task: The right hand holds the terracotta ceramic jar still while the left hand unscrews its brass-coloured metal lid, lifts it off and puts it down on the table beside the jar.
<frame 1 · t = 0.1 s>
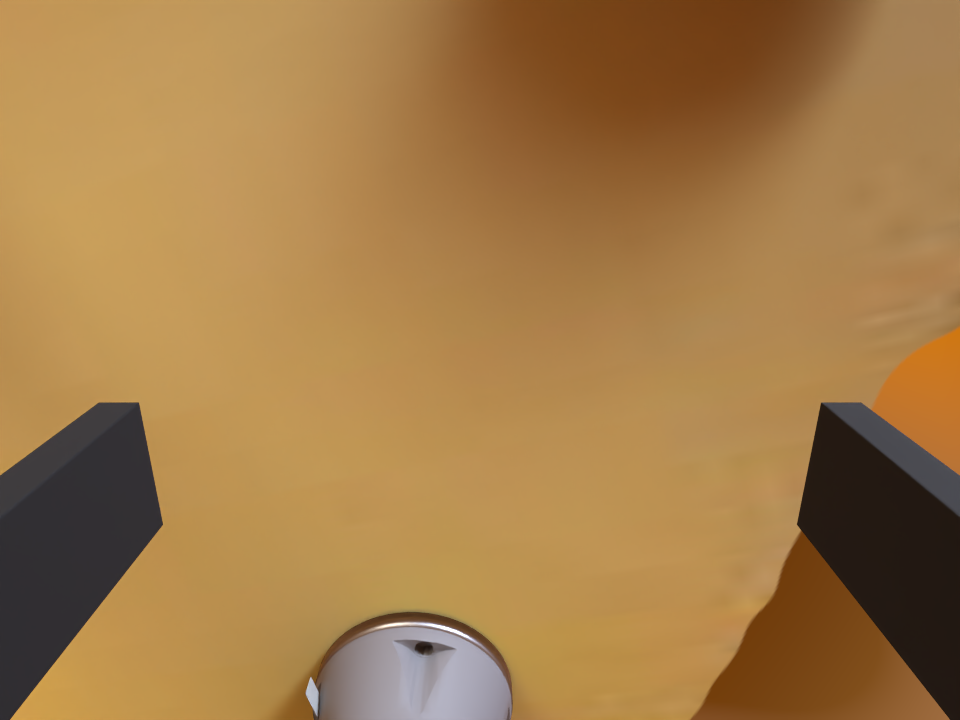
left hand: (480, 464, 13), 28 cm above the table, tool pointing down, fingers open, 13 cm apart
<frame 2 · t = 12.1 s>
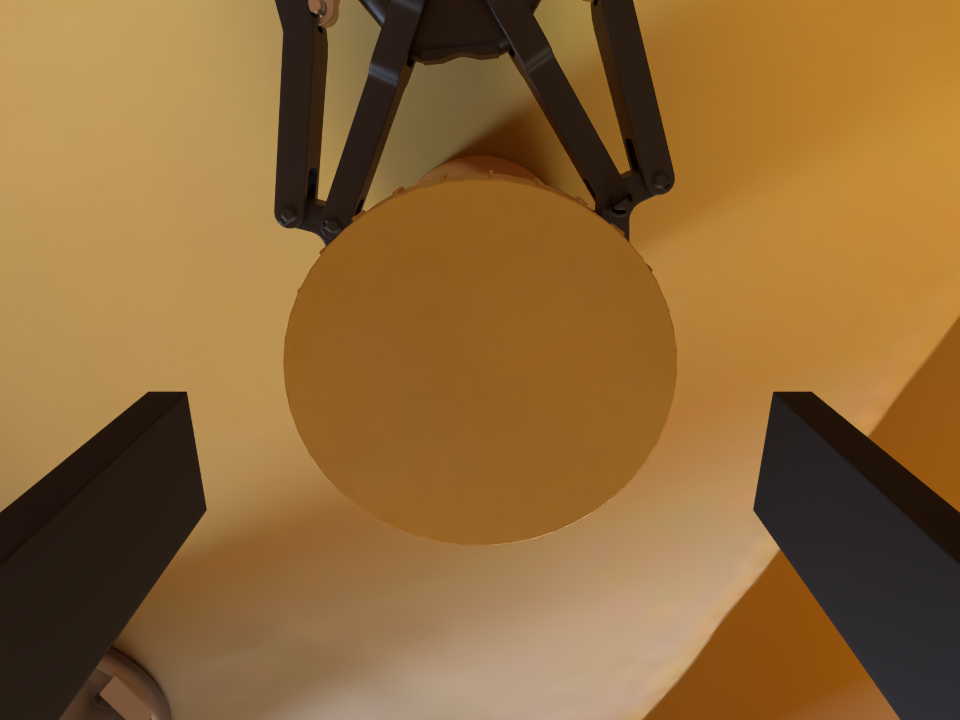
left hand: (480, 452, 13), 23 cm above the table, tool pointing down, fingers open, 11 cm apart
lid: (480, 376, 17), point 19 cm above the table, screwed on, not yet turned
jar: (480, 246, 35), on the table, touching right hand
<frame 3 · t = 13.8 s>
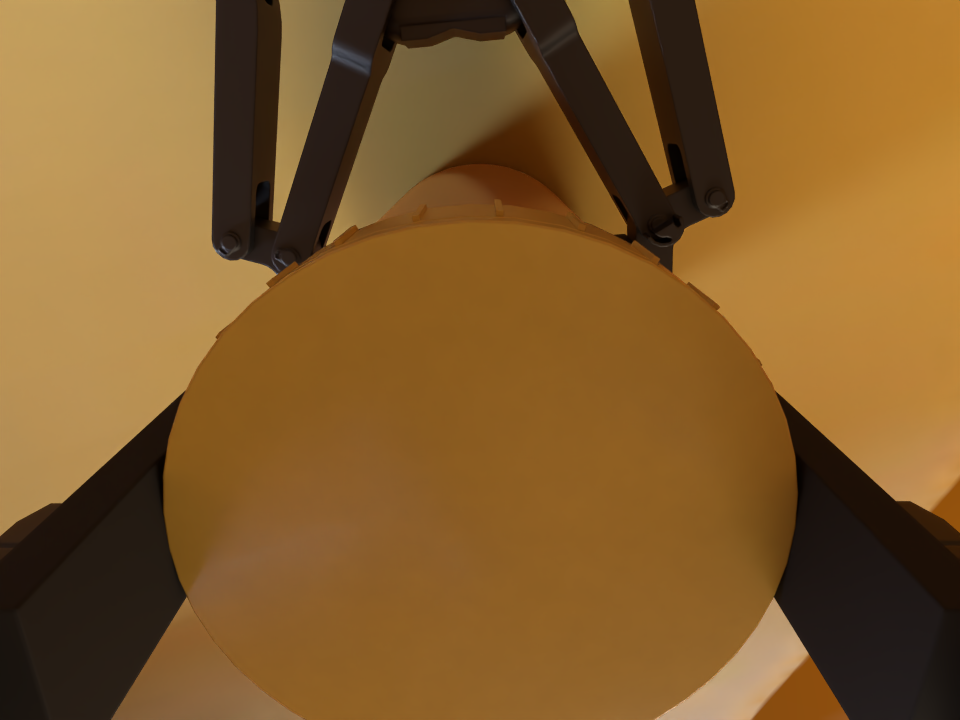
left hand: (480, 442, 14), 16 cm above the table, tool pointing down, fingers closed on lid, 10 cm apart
lid: (480, 525, 11), point 19 cm above the table, screwed on, not yet turned, touching left hand
jar: (479, 273, 29), on the table, touching right hand
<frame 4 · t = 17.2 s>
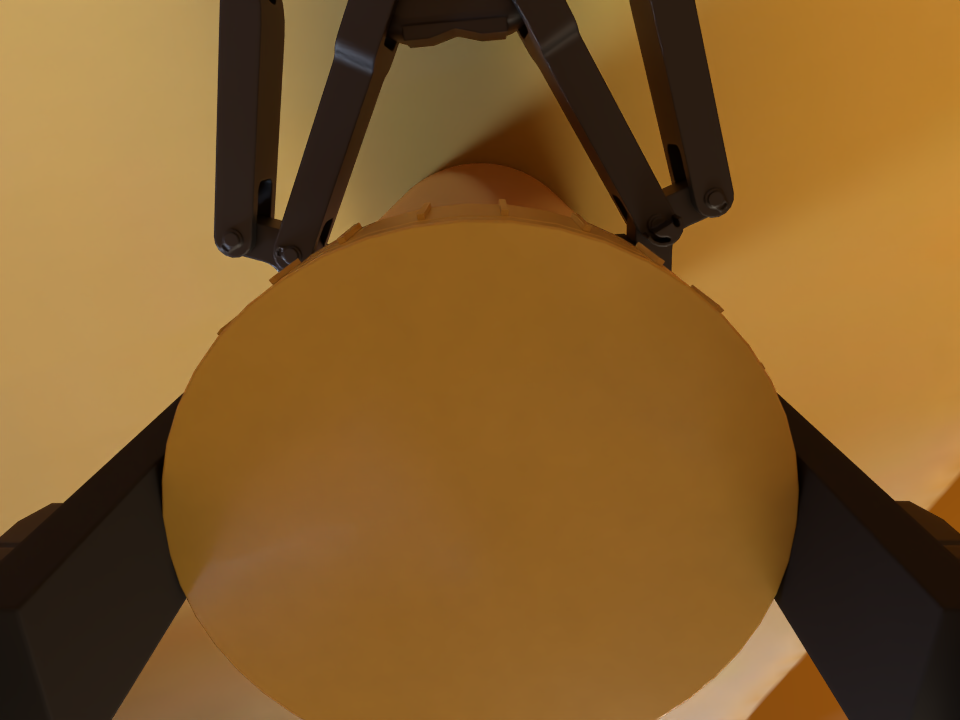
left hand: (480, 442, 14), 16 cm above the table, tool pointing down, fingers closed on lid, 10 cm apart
lid: (480, 526, 11), point 19 cm above the table, turned 106° so far, risen 0.2 cm, still on its thread, touching left hand
jar: (480, 272, 29), on the table, touching right hand
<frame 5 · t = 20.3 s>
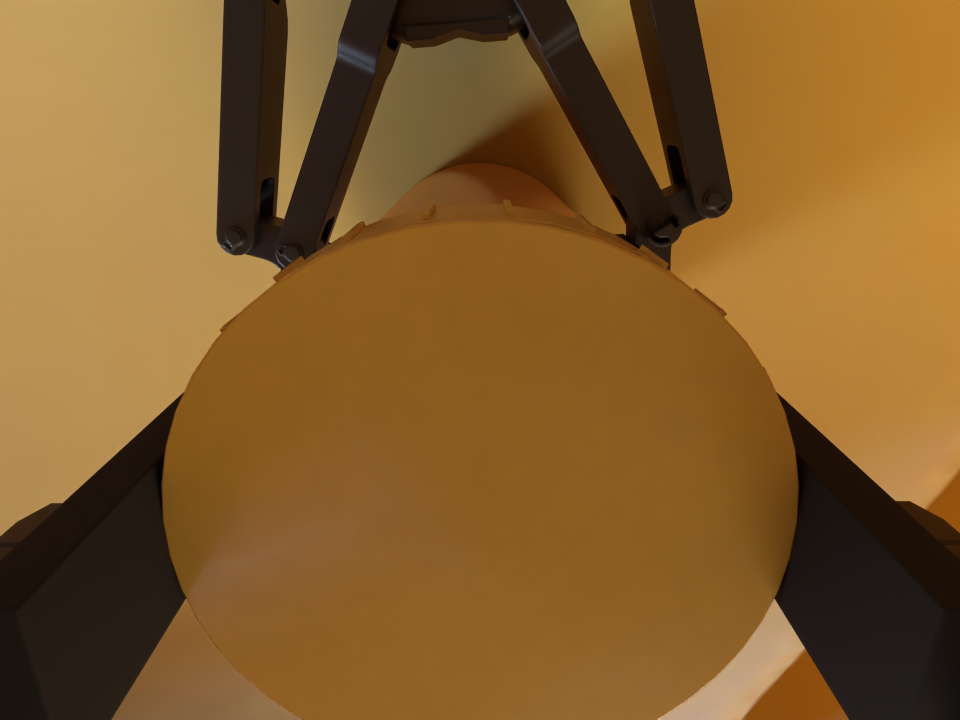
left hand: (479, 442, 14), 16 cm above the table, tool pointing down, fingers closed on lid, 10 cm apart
lid: (480, 526, 11), point 19 cm above the table, turned 212° so far, risen 0.4 cm, still on its thread, touching left hand
jar: (480, 271, 29), on the table, touching right hand
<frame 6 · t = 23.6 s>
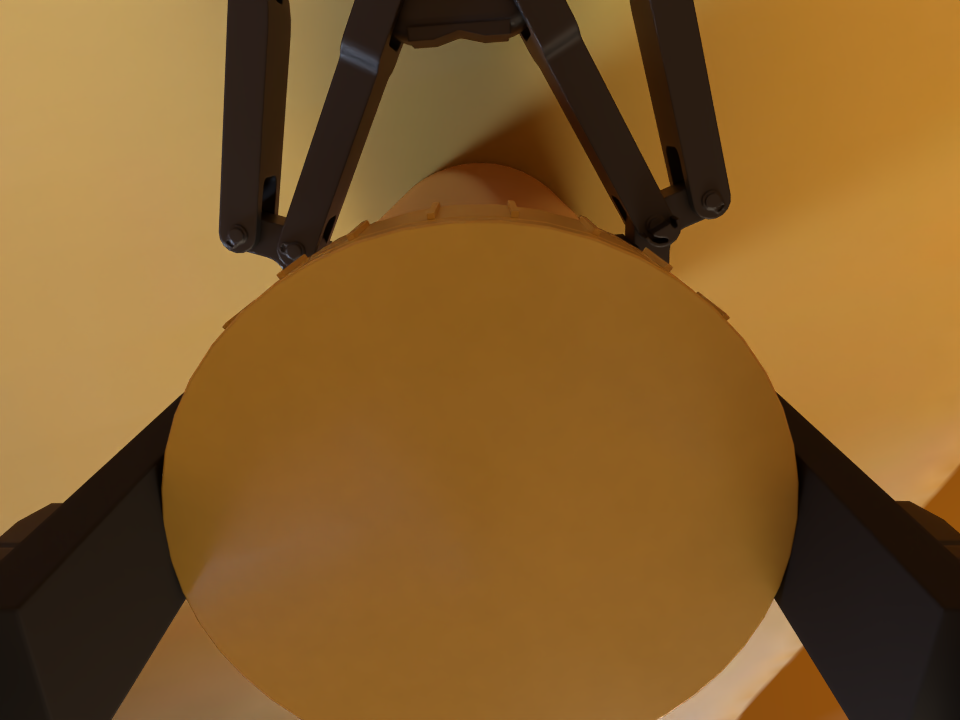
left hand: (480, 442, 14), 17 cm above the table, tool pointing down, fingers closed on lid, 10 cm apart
lid: (479, 526, 11), point 20 cm above the table, turned 319° so far, risen 0.5 cm, still on its thread, touching left hand
jar: (480, 271, 29), on the table, touching right hand
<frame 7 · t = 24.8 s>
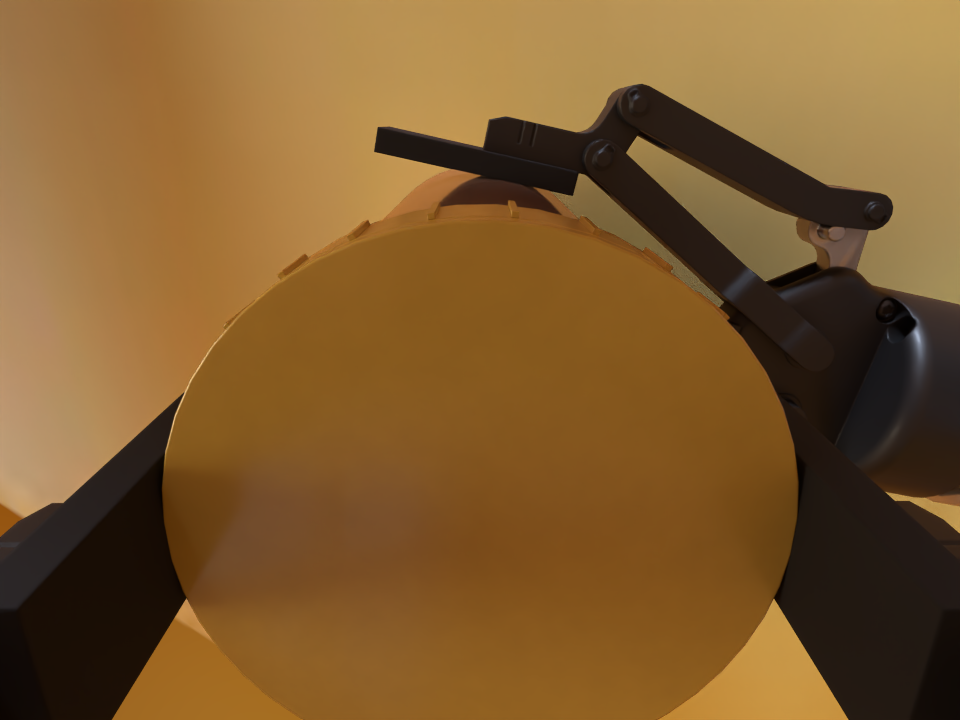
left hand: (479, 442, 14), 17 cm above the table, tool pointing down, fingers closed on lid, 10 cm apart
right hand: (360, 282, 23), fingers closed on jar, 9 cm apart
lid: (480, 526, 11), point 20 cm above the table, off its thread, touching left hand
jar: (480, 271, 29), on the table, touching right hand
when the left hand's fingers open (0 cm above the table, at t = 30.5 s): lid drops 2 cm, point 2 cm above the table.
when the right hand's fingers open (6 cm above the table, at t = 31.5 s): jar stays where it is, on the table.
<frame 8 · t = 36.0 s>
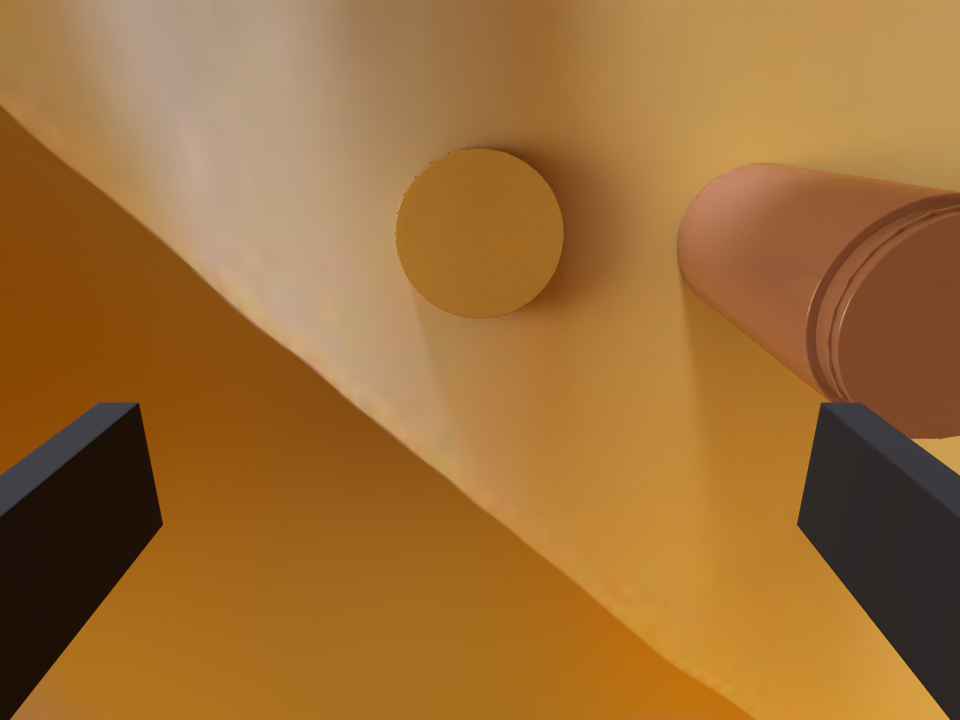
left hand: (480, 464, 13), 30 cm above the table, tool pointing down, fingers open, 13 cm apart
lid: (479, 236, 39), point 2 cm above the table, off its thread
jar: (751, 240, 41), on the table
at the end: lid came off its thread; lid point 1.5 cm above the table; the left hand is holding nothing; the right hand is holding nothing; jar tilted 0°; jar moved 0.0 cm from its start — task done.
